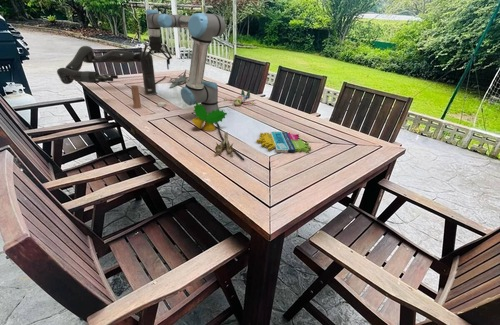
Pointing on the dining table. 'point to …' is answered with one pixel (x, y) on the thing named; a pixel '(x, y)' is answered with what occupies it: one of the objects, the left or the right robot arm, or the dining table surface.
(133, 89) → the jar
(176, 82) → the airplane
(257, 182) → the dining table surface
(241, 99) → the toy
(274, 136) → the sign
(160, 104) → the lid
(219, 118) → the ornament
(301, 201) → the dining table surface
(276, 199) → the dining table surface
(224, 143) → the jawbone
